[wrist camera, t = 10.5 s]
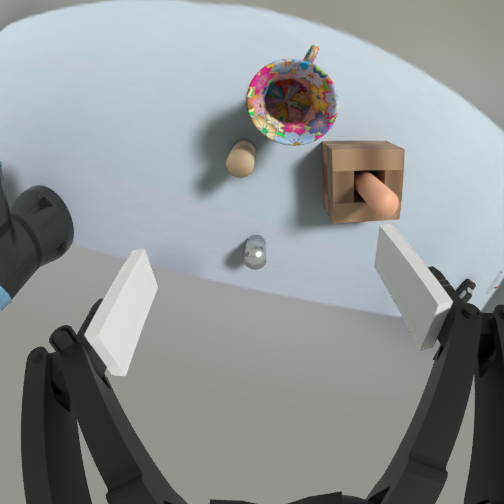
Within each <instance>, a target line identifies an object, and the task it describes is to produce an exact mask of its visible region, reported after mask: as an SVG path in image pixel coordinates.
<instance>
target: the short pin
mask: <svg viewBox="0 0 504 504" xmlns="http://www.w3.org/2000/svg"><path fill="white" fill-rule="evenodd" d="M244 263H245V265H246V266H247V267H248V268H250V269H255V270H256V269H260V268H262V267H263V266H264V265H265V263H266V242H265V240H264V238H263V237H261V236H259V235H253V236H250V237H249V238H248V239H247V241H246V246H245V254H244Z"/></svg>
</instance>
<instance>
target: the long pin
mask: <svg viewBox="0 0 504 504" xmlns="http://www.w3.org/2000/svg"><path fill="white" fill-rule="evenodd" d="M354 189H355V190H356V191H357V192H358V193H359V194H360V195H361V196H362V198H363V199H364V200H365V201H366V202H367V203H368V205H369V206H370V207H371V208H372V209H373V210H374V212H375V213H376V214H377V215H378V216H380V217H384V218H385V217H390V216H391V215H393V214H394V213H395V212H396V210H397V208H398V205H399V200H398V197H397V195H396V194H395V193H394V192H392V191H391V190H390V189H389V188H388V187H387V186H386V185H384V184H383V183H382V182H381V181H380V180H378V179H377V178H376V177H375V176H374V175H372V174H371V173H370V172H369V171H367V170H359V171H354Z"/></svg>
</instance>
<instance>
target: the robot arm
mask: <svg viewBox="0 0 504 504" xmlns="http://www.w3.org/2000/svg"><path fill="white" fill-rule="evenodd" d="M1 166H2V162H1V161H0V312H1V311H2V310H3V309H4V308H5V307H6V306H7V305H8V304H9V303H11V301H12V299H13V297H14V296H15V295H16V294H17V292H18V291H19V290H20V289H21V288H22V286H23V285H24V284H25V283H26V282H27V281H28V279H29V278H30V277H31V276H32V275H33V274H34V273H35V271H36V270H37V269H38V268H39V267H40V266H43V265H45V264H47V263H49V262H52V261H54V260H56V259H58V258H60V257H61V256H62V255H63V254H64V253H65V252H66V251H67V250H68V249H69V248H70V246H71V244H72V241H73V233H74V232H73V223H72V219H71V216H70V213H69V211H68V209H67V207H66V205H65V204H64V202H63V201H62V199H61V198H60V197H59V196H58V195H57V194H56V193H55V192H54V191H52V190H51V189H49V188H47V187H45V186H33V187H31V188H29V189H28V190H26V191H24V192H23V193H22V194H21V195H20V196H19V197H18V199H17V200H16V202H15V203H14V205H13V206H12V208H11V209H10V211H9V207H8V203H7V198H6V192H5V187H4V181H3V175H2V168H1ZM374 267H375V268H376V270H377V272H378V274H379V275H380V277H381V279H382V281H383V282H384V284H385V286H386V288H387V289H388V291H389V293H390V295H391V297H392V298H393V300H394V302H395V304H396V306H397V308H398V309H399V311H400V313H401V315H402V317H403V319H404V321H405V323H406V325H407V327H408V329H409V330H410V333H411V335H412V336H413V339H414V340H415V342H416V345H417V347H418V349H419V351H421V350H425V349H428V348H432V347H433V346H434V344H435V342H436V340H437V338H438V340H439V342H440V344H441V345H440V347H439V349H438V351H437V353H436V355H435V357H434V358H433V360H435V361H434V364H433V368H432V370H431V374H430V376H429V379H428V382H427V385H426V388H425V390H424V393H423V395H422V398H421V400H420V403H419V405H418V407H417V410H416V412H415V414H414V417H413V419H412V422H411V424H410V426H409V428H408V430H407V432H406V434H405V436H404V438H403V440H402V442H401V444H400V446H399V448H398V450H397V452H396V454H395V456H394V457H393V459H392V461H391V463H390V465H389V466H388V468H387V470H386V471H385V473H384V475H383V476H382V478H381V479H380V480H379V481H378V483H377V484H376V485H375V487H374V488H373V489H372V491H371V492H370V493H369V495H368V497H367V498H366V499H362V498H358V497H354V496H347V495H342V492H335V493H330V494H324V495H317V496H311V497H307V498H304V499H301V500H298V501H295V502H292V503H288V504H435V503H436V501H437V499H438V497H439V495H440V493H441V491H442V489H443V486H444V484H445V481H446V479H447V474H448V472H447V471H446V465H447V462H448V460H449V457H450V455H451V452H452V449H453V447H454V444H455V441H456V438H457V436H458V433H459V429H460V426H461V423H462V420H463V417H464V413H465V409H466V406H467V402H468V398H469V394H470V390H471V385H472V381H473V376H474V375H475V419H474V435H473V446H472V455H471V462H470V469H469V475H468V481H467V487H466V492H465V498H464V504H504V305H497V306H496V307H495V309H494V311H493V313H481V312H480V310H479V309H478V308H477V307H476V306H475V305H473V304H470V303H464V302H463V301H462V299H461V298H460V296H459V295H458V294H457V292H456V291H455V290H454V288H453V287H452V286H451V285H450V283H449V282H448V281H447V280H446V278H445V277H444V276H443V274H442V273H441V272H440V271H439V270H437V269H436V268H434V267H433V266H432V267H427V266H426V265H425V264H424V262H423V261H422V260H421V259H420V257H419V256H418V255H417V254H416V252H415V251H414V250H413V249H412V248H411V246H410V245H409V244H408V243H407V242H406V241H405V239H404V238H403V237H402V236H401V235H400V234H399V232H398V231H397V230H396V229H395V228H394V227H393V226H392V224H389V225H379V235H378V243H377V251H376V259H375V266H374ZM157 289H158V285H157V283H156V280H155V277H154V275H153V272H152V269H151V266H150V263H149V260H148V257H147V254H146V251H145V249H138V250H133V251H132V252H131V254H130V256H129V257H128V259H127V260H126V262H125V264H124V265H123V267H122V269H121V270H120V272H119V274H118V275H117V277H116V278H115V280H114V282H113V284H112V285H111V287H110V289H109V290H108V292H107V294H106V296H105V297H104V299H99V300H98V301H97V302H96V303H95V304H94V305H93V307H92V308H91V310H90V312H89V314H88V316H87V317H86V320H85V321H84V323H83V325H82V327H81V328H80V331H79V332H78V334H77V335H76V334H75V332H74V330H73V329H72V327H71V326H68V325H64V326H61V327H59V328H58V329H56V330H55V331H54V332H53V333H52V334H51V336H50V339H49V343H50V344H51V345H52V347H53V348H54V349H55V351H56V352H54V353H48V352H47V350H46V349H45V348H44V347H37V348H35V349H33V350H32V351H31V352H30V354H29V355H28V358H27V362H26V369H25V378H24V387H23V398H22V414H21V455H22V471H23V481H24V490H25V497H26V503H27V504H92V502H91V498H90V494H89V490H88V485H87V481H86V476H85V471H84V466H83V460H82V455H81V449H80V441H79V434H78V425H77V420H78V423H79V425H80V428H81V431H82V433H83V436H84V438H85V441H86V443H87V445H88V448H89V450H90V452H91V455H92V457H93V459H94V462H95V464H96V466H97V468H98V470H99V472H100V474H101V476H102V478H103V480H104V482H105V484H106V486H107V488H108V492H107V494H106V499H107V501H108V504H187V503H186V501H185V500H183V498H182V497H181V496H179V495H178V494H177V493H176V492H175V491H174V490H173V488H172V487H171V486H170V484H169V483H168V482H167V480H166V479H165V478H164V476H163V475H162V473H161V472H160V471H159V469H158V467H157V466H156V465H155V463H154V462H153V460H152V459H151V457H150V455H149V454H148V452H147V451H146V449H145V448H144V446H143V444H142V443H141V441H140V439H139V438H138V436H137V434H136V433H135V431H134V429H133V427H132V426H131V424H130V422H129V420H128V418H127V416H126V415H125V413H124V411H123V409H122V407H121V405H120V403H119V401H118V399H117V397H116V395H115V393H114V391H113V389H112V387H111V385H110V383H109V380H108V378H107V377H106V376H105V374H104V373H105V370H106V368H107V369H108V370H109V371H110V373H111V374H112V375H118V376H126V374H127V371H128V367H129V365H130V362H131V359H132V356H133V353H134V350H135V347H136V344H137V342H138V339H139V336H140V333H141V331H142V328H143V325H144V322H145V320H146V317H147V315H148V312H149V309H150V307H151V304H152V302H153V299H154V296H155V294H156V292H157ZM210 504H255V503H250V502H245V501H232V500H230V501H229V500H210Z"/></svg>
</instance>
